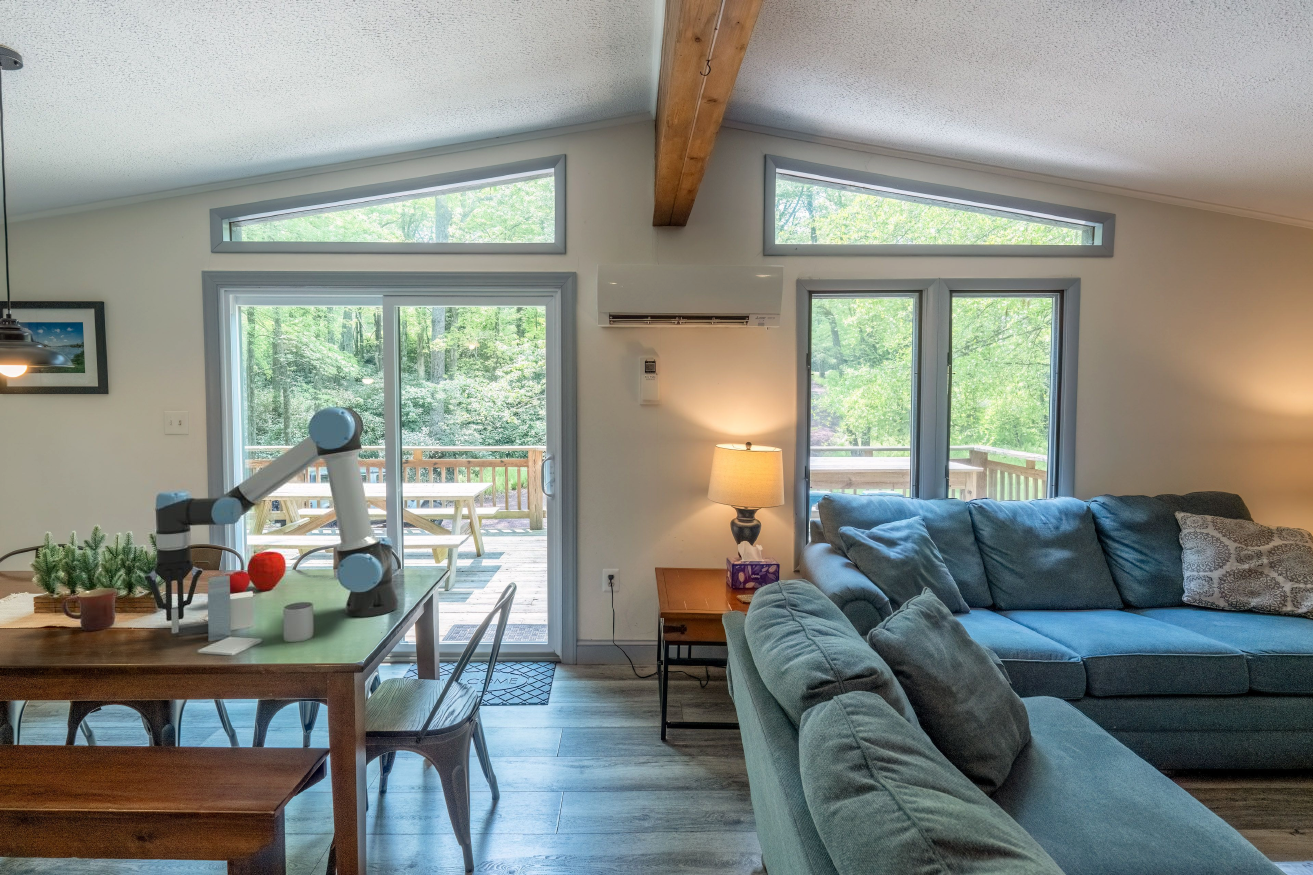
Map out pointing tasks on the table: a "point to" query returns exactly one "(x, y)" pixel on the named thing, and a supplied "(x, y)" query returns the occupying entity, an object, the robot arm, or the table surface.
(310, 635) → the cup
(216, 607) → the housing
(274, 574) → the apple
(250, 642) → the pad
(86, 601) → the mug
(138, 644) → the table surface
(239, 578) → the light bulb
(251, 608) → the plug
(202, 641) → the table surface
